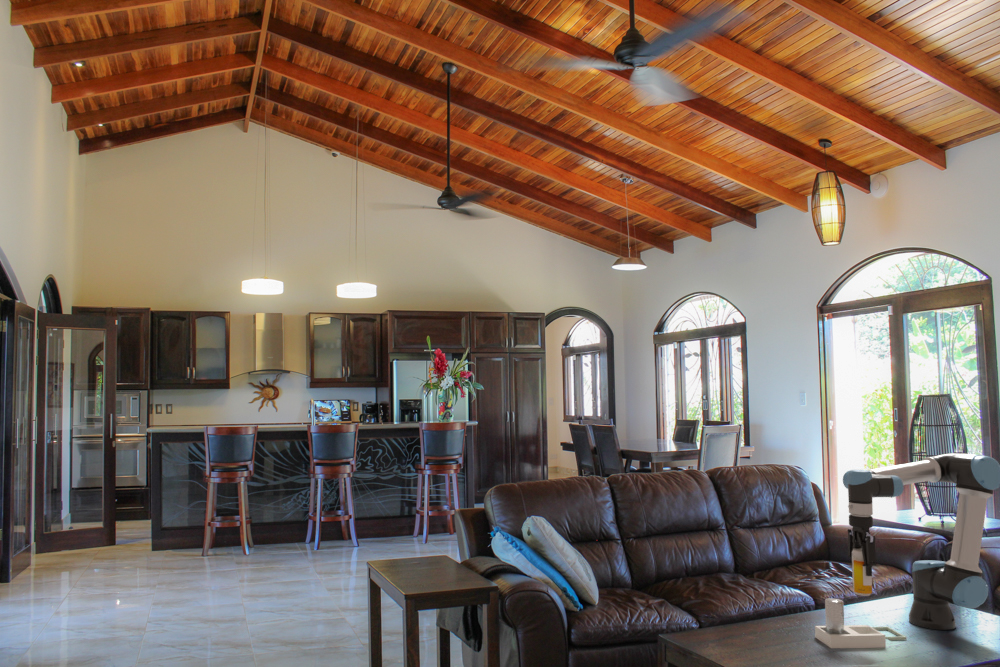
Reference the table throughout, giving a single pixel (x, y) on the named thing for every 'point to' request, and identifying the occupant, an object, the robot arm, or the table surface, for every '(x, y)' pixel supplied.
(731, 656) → the table surface
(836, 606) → the shiny metal cylinder
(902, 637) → the empty picture frame
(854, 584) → the beer can
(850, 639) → the dock
